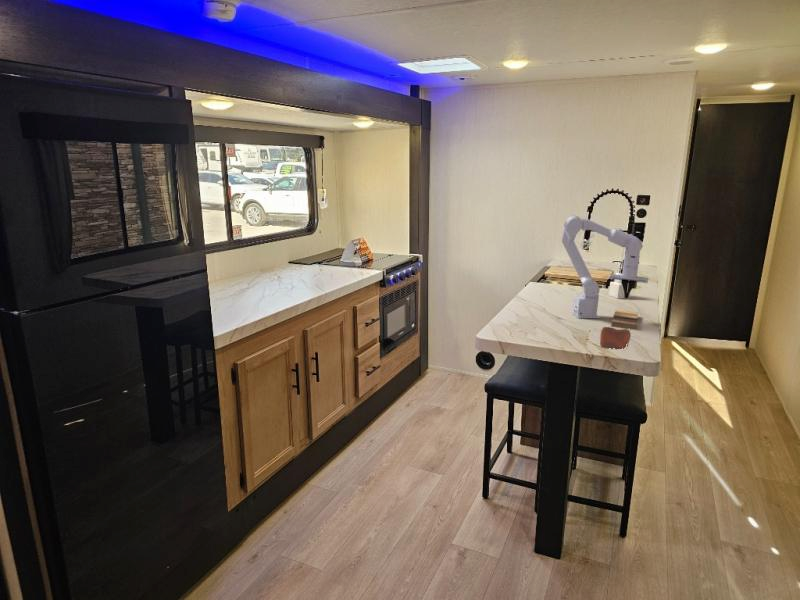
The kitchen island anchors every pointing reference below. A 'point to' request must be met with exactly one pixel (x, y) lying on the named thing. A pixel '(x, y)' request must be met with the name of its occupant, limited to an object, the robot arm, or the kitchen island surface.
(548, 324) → the kitchen island surface
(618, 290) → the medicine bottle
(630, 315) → the oak plank
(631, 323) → the walnut board
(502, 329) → the kitchen island surface
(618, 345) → the wooden tablet
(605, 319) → the kitchen island surface
